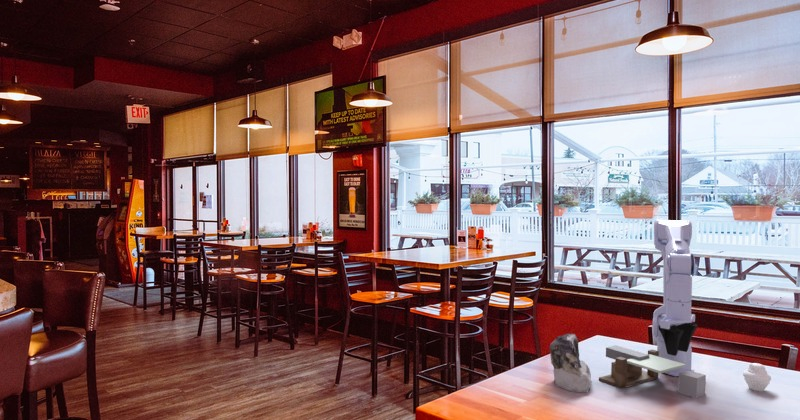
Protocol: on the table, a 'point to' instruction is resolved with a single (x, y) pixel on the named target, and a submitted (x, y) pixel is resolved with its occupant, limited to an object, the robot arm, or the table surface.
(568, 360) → the stone
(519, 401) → the table surface
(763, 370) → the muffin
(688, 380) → the granite cube
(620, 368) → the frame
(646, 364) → the trapdoor
